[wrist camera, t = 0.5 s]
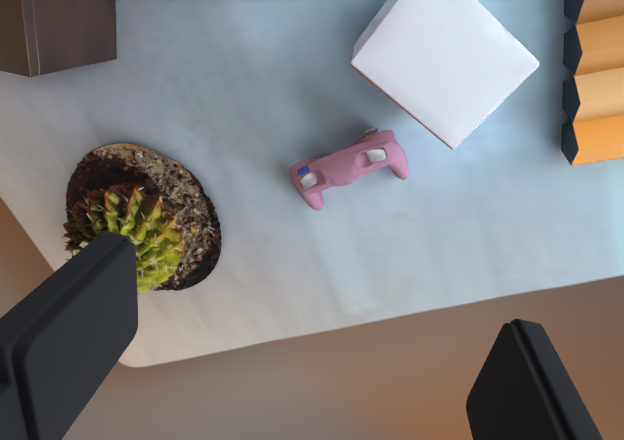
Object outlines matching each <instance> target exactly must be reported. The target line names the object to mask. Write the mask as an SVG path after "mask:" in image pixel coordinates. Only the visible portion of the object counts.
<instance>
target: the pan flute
mask: <svg viewBox="0 0 624 440" xmlns="http://www.w3.org/2000/svg"><path fill="white" fill-rule="evenodd" d="M564 15H565V16H566V17H567V18H568V19H570V20H571V21H572V22H573V23H574V24H575V25H576V26H574V27H573V28H572V29H570V30H569V31H567V32H566V33H564V53H563V64H564V65H565V66H566V68H567V69H568V70H569V71H570V72H571V73H572V75H573V76H574V77H572V78H570V79H567V80H565V81H563V98H562V109H563V110H564V112H565V113H566V115H567V116H568V117H569V119H570V120H571V121H572V123H570V124H565V125H562V142H561V150H562V152H563V154H564V155H565V157H566V158H567V160H568V161H569V163H570V165H571V166H573V165H579V164H586V163H592V162H599V161H605V160H612V159H618V158H624V0H565V9H564Z"/></svg>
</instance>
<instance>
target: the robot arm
mask: <svg viewBox="0 0 624 440" xmlns="http://www.w3.org/2000/svg"><path fill="white" fill-rule="evenodd" d="M137 328H138V303H137V264H136V246H135V244H134V243H131V242H130V239H129V237H128V236H126V235H121V234H116V233H112V232H107V231H105V232H102V233H101V234H99V235H98V236H97V237H96V238H95V239H93V240H92V241H91V242H90V243H89V244H88V245H86V246H85V247H84V248H83V249H82V250H80V251H79V252H78V253H77V254H76V255H75V256H73V257H72V258H71V259H70V260H69V261H67V262H66V263H65V264H64V265H63V266H62V267H60V268H59V269H58V270H57V271H56V272H55V273H53V274H52V275H51V276H50V277H49V278H47V279H46V280H45V281H44V282H43V283H42V284H41V285H39V286H38V287H37V288H36V289H34V290H33V291H32V292H31V293H30V294H29V295H27V296H26V297H25V298H24V299H23V300H22V301H20V302H19V303H18V304H17V305H16V306H14V307H13V308H12V309H11V310H10V311H8V313H6V314H5V315H4V316H3V317H1V318H0V440H61V439H62V438H63V437H64V435H65V434H66V432H67V431H68V430H69V428H70V427H71V425H72V424H73V423H74V421H75V420H76V418H77V417H78V416H79V414H80V413H81V411H82V410H83V409H84V407H85V406H86V404H87V403H88V401H89V400H90V399H91V397H92V396H93V395H94V393H95V392H96V390H97V389H98V387H99V386H100V385H101V383H102V382H103V380H104V379H105V378H106V376H107V375H108V373H109V372H110V371H111V369H112V368H113V366H114V365H115V364H116V362H117V361H118V359H119V358H120V357H121V355H122V354H123V352H124V351H125V350H126V348H127V347H128V345H129V344H130V343H131V341H132V340H133V338H134V336H135V334H136V332H137ZM466 411H467V416H468V420H469V424H470V429H471V433H472V437H473V440H603V439H602V437H601V435H600V433H599V431H598V429H597V427H596V425H595V423H594V422H593V420H592V418H591V416H590V414H589V412H588V410H587V408H586V407H585V405H584V403H583V401H582V399H581V397H580V396H579V393H578V392H577V390H576V388H575V386H574V384H573V382H572V380H571V379H570V377H569V375H568V373H567V371H566V369H565V367H564V365H563V363H562V362H561V360H560V358H559V356H558V354H557V352H556V351H555V349H554V347H553V345H552V343H551V341H550V339H549V337H548V335H547V334H546V332H545V330H544V328H543V327H542V325H541V324H539V323H534V322H529V321H525V320H520V319H514V320H513V321H511V323H505V324H504V325H503V326H502V328H501V330H500V332H499V334H498V337H497V338H496V341H495V343H494V345H493V347H492V349H491V351H490V353H489V355H488V357H487V359H486V361H485V363H484V365H483V367H482V369H481V371H480V373H479V375H478V377H477V379H476V381H475V383H474V386H473V388H472V389H471V391H470V394H469V396H468V398H467V403H466Z"/></svg>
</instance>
